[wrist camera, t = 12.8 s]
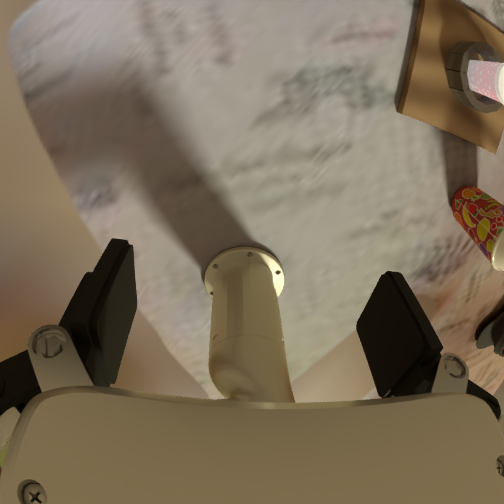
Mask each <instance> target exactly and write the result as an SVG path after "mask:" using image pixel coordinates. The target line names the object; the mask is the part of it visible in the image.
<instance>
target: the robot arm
mask: <svg viewBox="0 0 504 504" xmlns="http://www.w3.org/2000/svg"><path fill="white" fill-rule="evenodd" d="M284 282H285V278H284V272H283V268H282V266H281V264H280V262H279V261H278V260H277V259H276V258H275V257H274V256H273V255H271V254H270V253H268V252H266V251H264V250H262V249H259V248H254V247H236V248H231V249H228V250H226V251H223V252H222V253H220V254H218V255H217V256H216V257H215V258H213V259H212V261H211V262H210V263H209V265H208V267H207V269H206V272H205V280H204V283H205V288H206V290H207V293H208V294H209V296H210V297H211V298H212V299H213V302H212V316H211V330H210V344H209V362H208V367H209V373H210V377H211V379H212V382H213V383H214V385H215V387H216V388H217V390H218V391H219V392H220V393H221V395H222V396H223V397H224V398H225V399H217V400H212V399H200V398H191V397H182V396H172V395H164V394H156V393H149V392H141V391H135V390H128V389H120V388H112V387H109V386H110V384H115V382H116V379H117V375H118V370H119V367H120V364H121V360H122V356H123V353H124V349H125V346H126V342H127V339H128V335H129V332H130V329H131V325H132V322H133V319H134V315H135V312H136V309H137V294H136V282H135V268H134V251H133V245H129V243H128V241H127V240H123V239H114V238H113V239H111V241H110V242H109V244H108V246H107V247H106V249H105V251H104V253H103V254H102V256H101V258H100V260H99V262H98V263H97V265H96V267H95V269H94V271H93V272H87V273H86V274H85V275H84V277H83V279H82V280H81V282H80V284H79V286H78V288H77V290H76V291H75V293H74V296H73V297H72V299H71V301H70V303H69V305H68V307H67V309H66V311H65V313H64V315H63V317H62V319H61V321H60V323H59V325H50V324H49V325H45V326H42V327H40V328H38V329H36V330H35V331H34V332H33V333H32V334H31V336H30V338H29V340H28V344H27V347H28V350H26V351H24V352H21V353H19V354H17V355H15V356H13V357H11V358H9V359H6V360H4V361H2V362H0V451H1V450H2V448H3V447H4V446H5V445H6V444H7V443H8V442H7V441H6V440H7V439H8V438H9V437H10V436H11V435H12V436H11V439H10V441H9V445H8V448H7V451H6V455H5V459H4V463H3V467H2V468H1V466H0V504H504V415H502V416H501V417H500V415H501V409H500V405H499V403H498V400H497V399H496V398H495V397H493V396H492V395H491V394H489V393H488V392H487V391H485V390H484V389H482V388H481V387H479V386H478V385H476V384H475V383H473V382H472V381H470V380H469V379H468V377H469V370H468V367H467V365H466V363H465V362H464V361H463V359H462V358H461V357H459V356H458V355H456V354H454V353H449V352H448V353H444V354H443V355H442V356H441V354H440V352H441V350H442V349H443V346H442V344H441V342H440V340H439V338H438V336H437V335H436V333H435V331H434V329H433V327H432V325H431V323H430V322H429V320H428V318H427V316H426V314H425V313H424V311H423V309H422V307H421V306H420V304H419V302H418V301H417V299H416V297H415V295H414V294H413V292H412V290H411V288H410V287H409V285H408V283H407V282H406V280H405V279H404V277H403V275H402V274H401V273H399V272H392V271H387V272H386V273H385V274H383V275H381V277H380V279H379V281H378V283H377V285H376V287H375V289H374V291H373V293H372V295H371V297H370V299H369V300H368V302H367V304H366V306H365V308H364V310H363V312H362V314H361V316H360V317H359V319H358V321H357V325H356V329H357V332H358V335H359V338H360V341H361V344H362V346H363V350H364V352H365V355H366V358H367V361H368V364H369V367H370V370H371V373H372V376H373V379H374V383H375V386H376V389H377V392H378V395H379V396H380V397H382V398H381V399H369V400H356V401H340V402H314V403H295V400H294V396H293V392H292V388H291V383H290V378H289V372H288V366H287V359H286V353H285V345H284V338H283V331H282V325H281V318H280V311H279V304H278V296H279V295H280V293H281V292H282V290H283V287H284Z"/></svg>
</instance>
